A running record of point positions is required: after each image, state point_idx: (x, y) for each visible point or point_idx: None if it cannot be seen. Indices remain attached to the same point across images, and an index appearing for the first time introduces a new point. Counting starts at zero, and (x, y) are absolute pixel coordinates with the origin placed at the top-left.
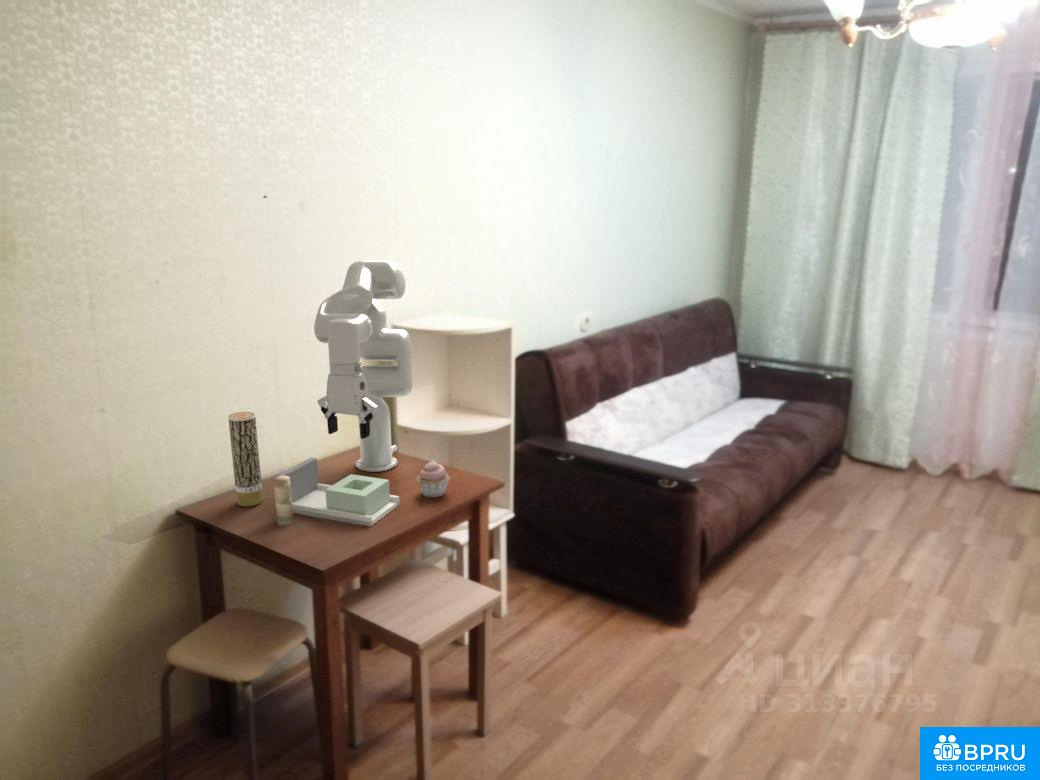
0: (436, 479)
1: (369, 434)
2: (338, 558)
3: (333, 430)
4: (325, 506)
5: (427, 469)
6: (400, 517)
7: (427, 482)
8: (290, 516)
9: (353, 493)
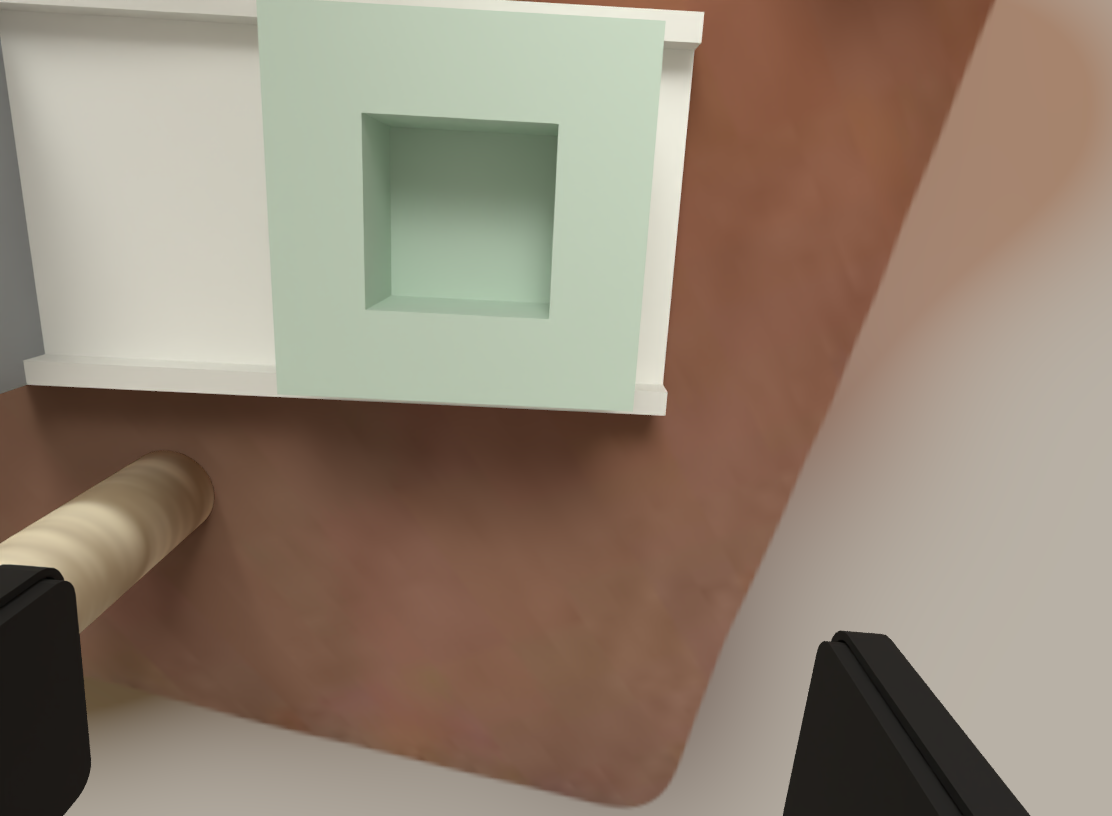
0: None
1: (886, 645)
2: (670, 734)
3: (50, 736)
4: (269, 284)
5: None
6: (776, 223)
7: None
8: (193, 516)
9: (523, 394)
